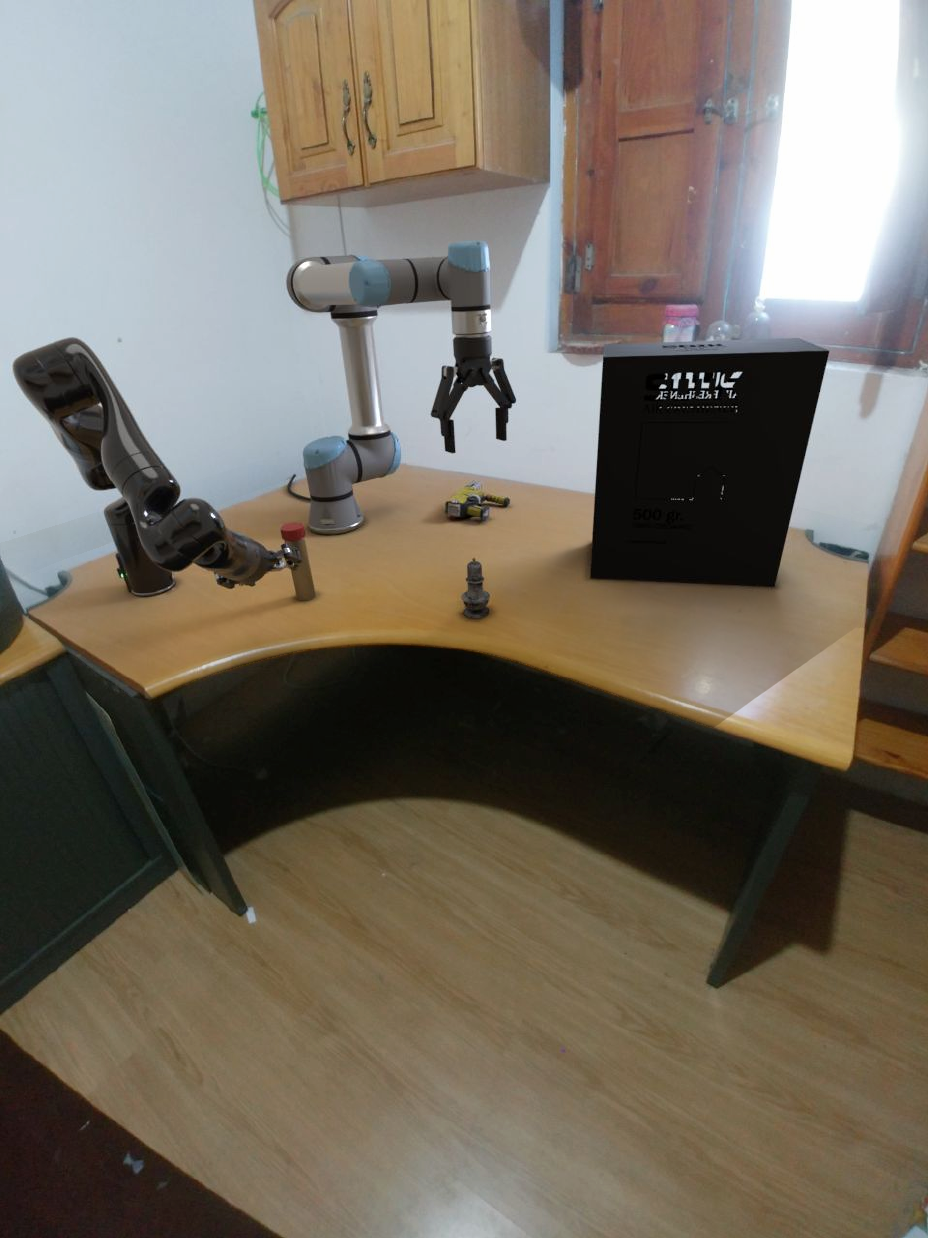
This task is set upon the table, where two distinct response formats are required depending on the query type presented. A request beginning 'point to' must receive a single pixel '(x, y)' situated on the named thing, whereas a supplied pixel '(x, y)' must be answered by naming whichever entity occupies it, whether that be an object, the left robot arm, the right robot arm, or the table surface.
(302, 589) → the bottle
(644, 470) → the cardboard box
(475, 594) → the dark grey chess piece
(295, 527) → the lid
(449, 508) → the toy gun
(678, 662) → the table surface
